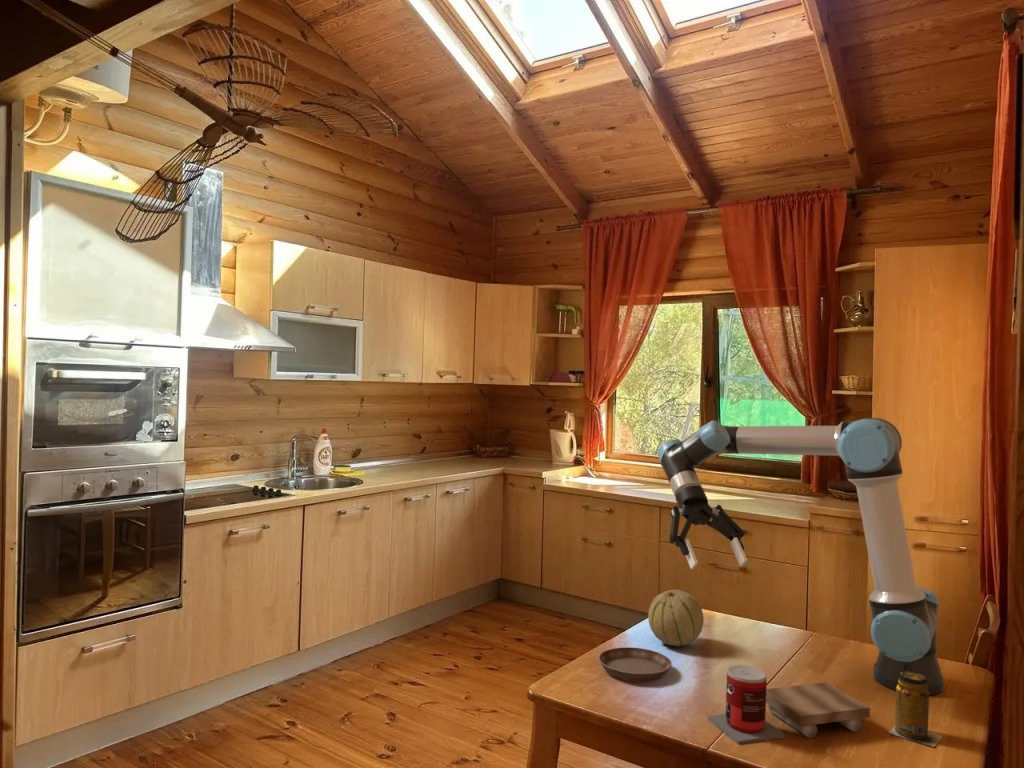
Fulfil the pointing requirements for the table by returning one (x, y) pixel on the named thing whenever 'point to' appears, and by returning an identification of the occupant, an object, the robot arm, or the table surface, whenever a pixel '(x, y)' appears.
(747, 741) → the rubber mat
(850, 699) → the walnut slab
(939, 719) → the table surface
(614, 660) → the plant saucer
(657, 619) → the cantaloupe
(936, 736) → the condiment
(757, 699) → the canned food
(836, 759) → the table surface
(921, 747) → the table surface
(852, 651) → the table surface
